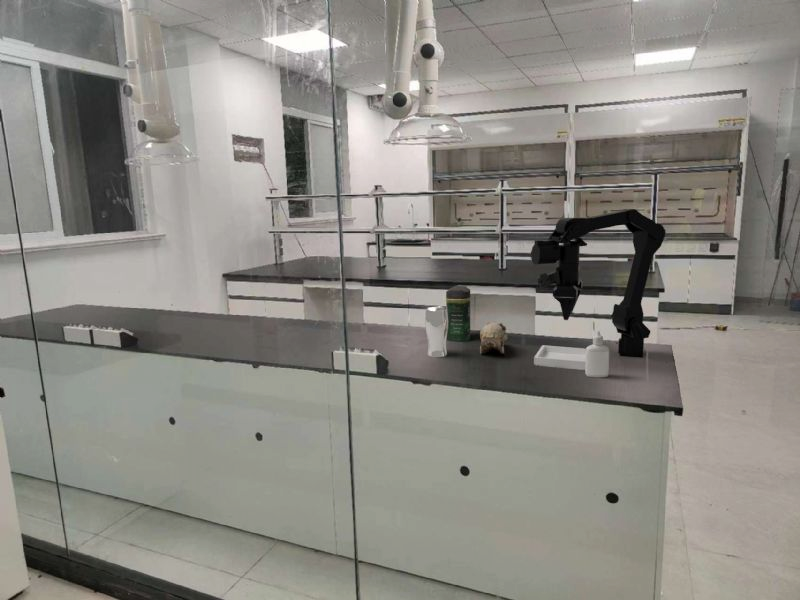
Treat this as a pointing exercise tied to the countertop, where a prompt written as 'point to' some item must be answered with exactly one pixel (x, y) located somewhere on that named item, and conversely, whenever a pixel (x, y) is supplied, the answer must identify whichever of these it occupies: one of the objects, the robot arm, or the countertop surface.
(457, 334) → the coffee jar
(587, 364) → the eye dropper bottle
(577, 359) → the tray
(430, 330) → the beer glass
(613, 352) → the countertop surface
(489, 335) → the animal skull replica
